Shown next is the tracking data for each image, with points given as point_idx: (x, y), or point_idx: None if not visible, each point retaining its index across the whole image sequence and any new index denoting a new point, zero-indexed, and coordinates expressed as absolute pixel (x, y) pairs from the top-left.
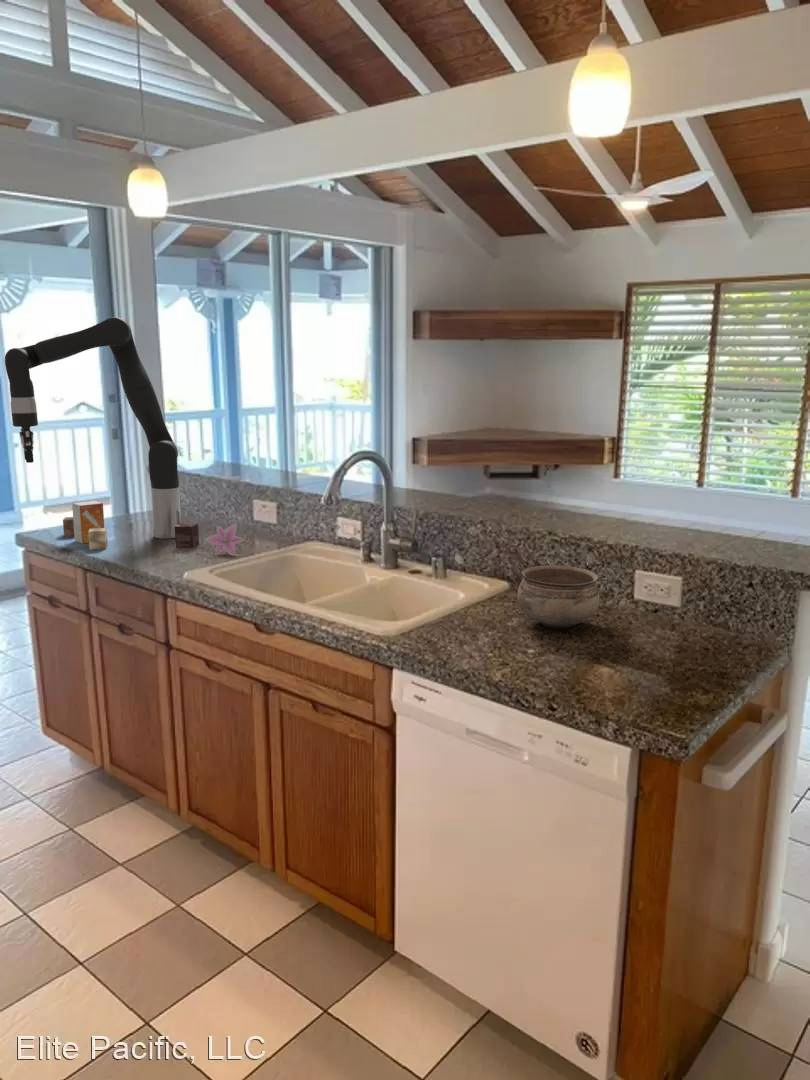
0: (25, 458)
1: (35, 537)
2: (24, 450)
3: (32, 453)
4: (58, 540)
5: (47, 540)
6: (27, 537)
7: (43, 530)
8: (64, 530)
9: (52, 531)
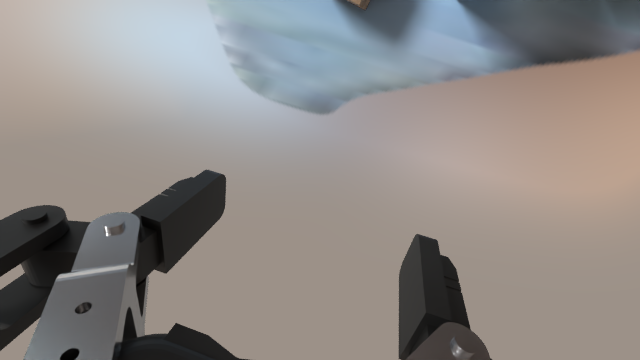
0: (217, 216)
1: (323, 86)
2: (174, 259)
3: (447, 299)
4: (406, 43)
5: (384, 71)
6: (312, 103)
7: (240, 37)
8: (364, 5)
9: (265, 18)
